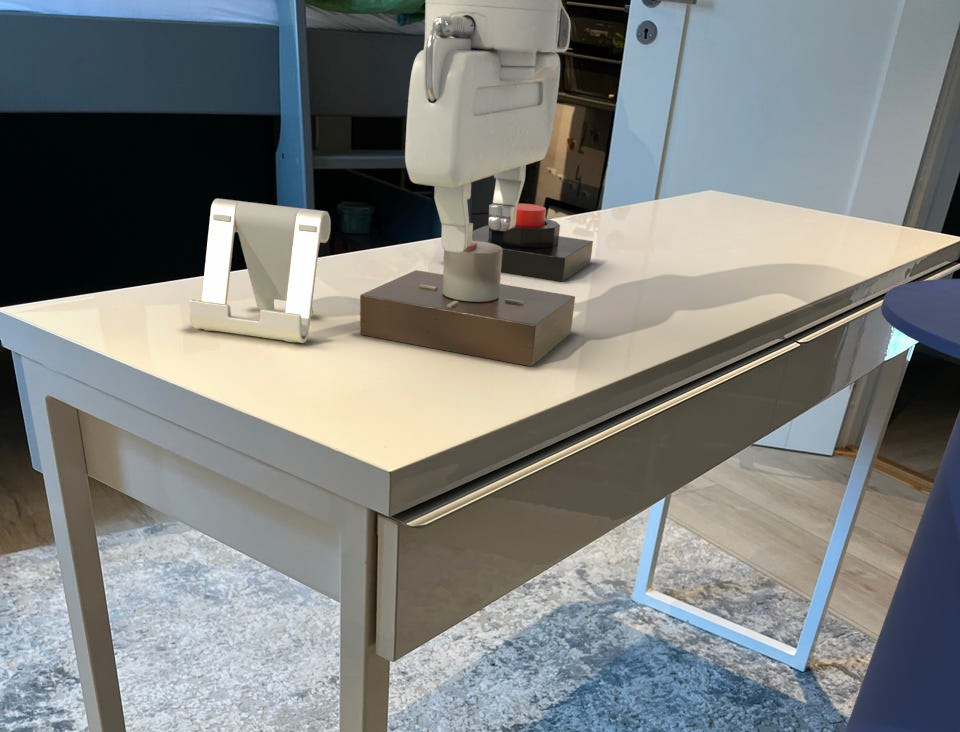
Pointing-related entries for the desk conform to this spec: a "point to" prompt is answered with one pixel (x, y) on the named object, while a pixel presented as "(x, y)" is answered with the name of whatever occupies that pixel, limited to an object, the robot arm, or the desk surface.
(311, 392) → the desk surface
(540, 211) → the button
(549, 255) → the button box
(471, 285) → the dial
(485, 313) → the panel
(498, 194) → the robot arm
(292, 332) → the tablet stand
